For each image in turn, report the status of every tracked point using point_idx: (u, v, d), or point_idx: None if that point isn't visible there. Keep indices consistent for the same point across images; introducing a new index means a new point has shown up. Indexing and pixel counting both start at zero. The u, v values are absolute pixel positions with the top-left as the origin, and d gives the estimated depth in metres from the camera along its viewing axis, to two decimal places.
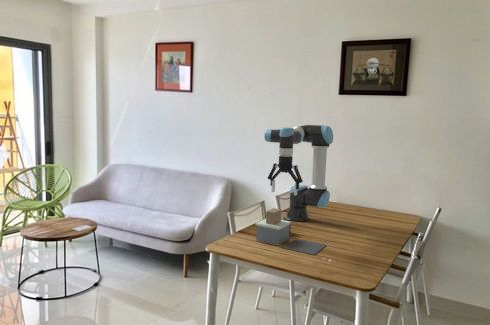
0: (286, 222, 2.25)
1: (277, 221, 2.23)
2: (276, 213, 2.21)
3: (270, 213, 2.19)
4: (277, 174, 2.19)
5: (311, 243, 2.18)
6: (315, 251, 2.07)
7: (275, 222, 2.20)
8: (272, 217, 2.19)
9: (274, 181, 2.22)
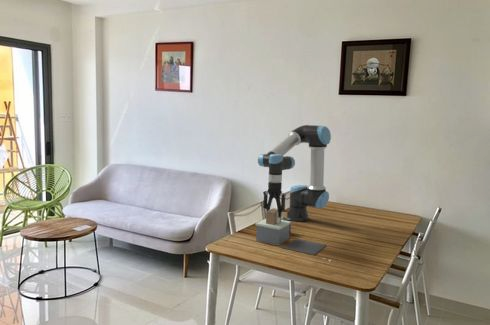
0: (286, 222, 2.25)
1: None
2: (276, 213, 2.21)
3: (270, 213, 2.19)
4: (270, 201, 2.23)
5: (311, 243, 2.18)
6: (315, 251, 2.07)
7: (275, 222, 2.20)
8: (272, 217, 2.19)
9: None
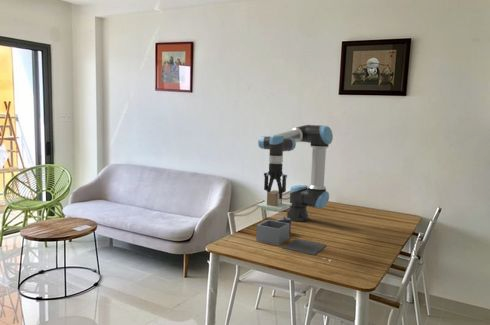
0: (287, 203, 2.24)
1: None
2: (277, 194, 2.20)
3: (271, 194, 2.18)
4: (271, 183, 2.22)
5: (311, 243, 2.18)
6: (315, 251, 2.07)
7: (276, 203, 2.19)
8: (273, 198, 2.18)
9: None
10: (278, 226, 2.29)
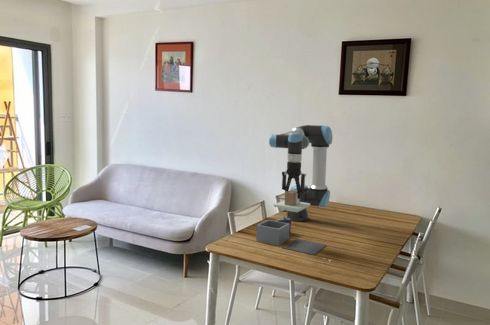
0: (305, 204, 2.17)
1: None
2: (295, 194, 2.13)
3: (289, 194, 2.11)
4: (289, 182, 2.15)
5: (311, 243, 2.18)
6: (315, 251, 2.07)
7: (294, 203, 2.12)
8: (291, 198, 2.11)
9: None
10: (278, 226, 2.29)
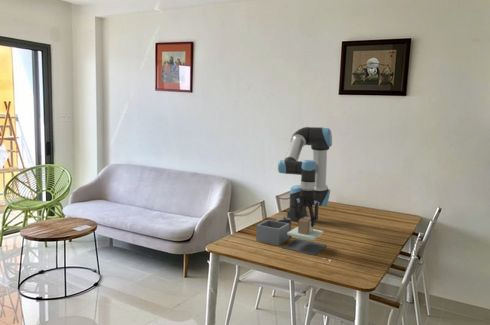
0: (319, 231, 2.14)
1: None
2: (309, 222, 2.10)
3: (303, 222, 2.09)
4: (302, 210, 2.12)
5: (311, 243, 2.18)
6: (315, 251, 2.07)
7: (308, 232, 2.10)
8: (305, 226, 2.08)
9: None
10: (278, 226, 2.29)
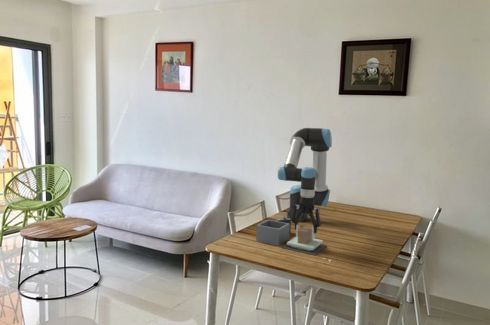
0: (318, 241, 2.15)
1: (309, 240, 2.13)
2: (309, 232, 2.11)
3: (302, 232, 2.09)
4: (300, 216, 2.13)
5: None
6: (315, 251, 2.07)
7: (307, 241, 2.10)
8: (304, 236, 2.09)
9: (298, 225, 2.15)
10: (278, 226, 2.29)
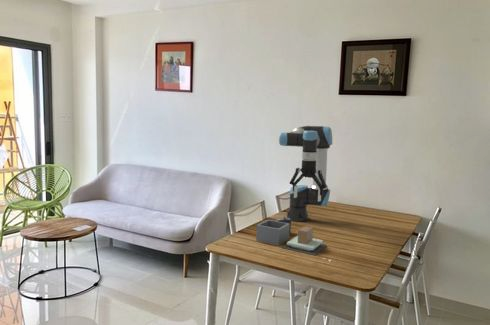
0: (318, 241, 2.15)
1: (309, 240, 2.13)
2: (309, 232, 2.11)
3: (302, 232, 2.09)
4: (300, 179, 2.11)
5: None
6: (315, 251, 2.07)
7: (307, 241, 2.10)
8: (304, 236, 2.09)
9: (296, 186, 2.14)
10: (278, 226, 2.29)
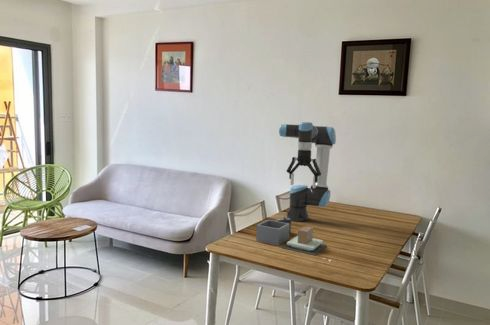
0: (318, 241, 2.15)
1: (309, 240, 2.13)
2: (309, 232, 2.11)
3: (302, 232, 2.09)
4: (296, 167, 2.26)
5: None
6: (315, 251, 2.07)
7: (307, 241, 2.10)
8: (304, 236, 2.09)
9: (293, 174, 2.28)
10: (278, 226, 2.29)
